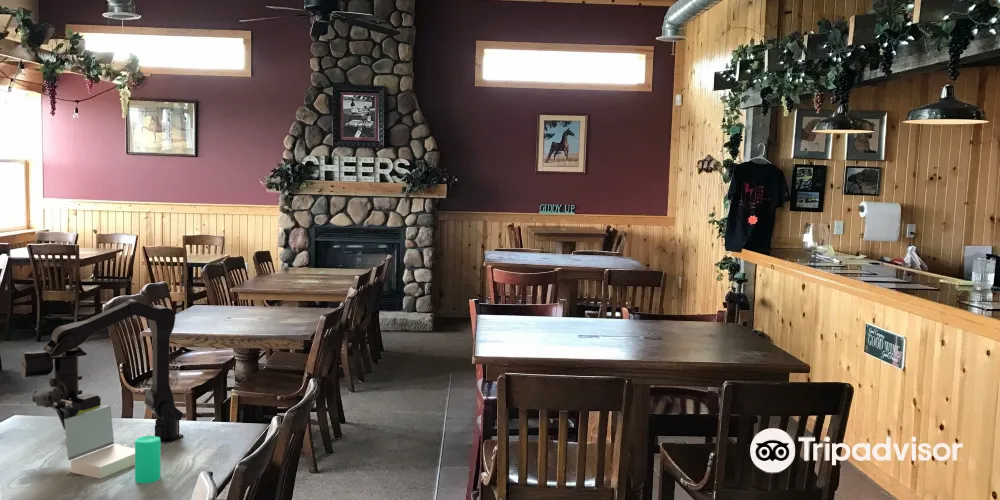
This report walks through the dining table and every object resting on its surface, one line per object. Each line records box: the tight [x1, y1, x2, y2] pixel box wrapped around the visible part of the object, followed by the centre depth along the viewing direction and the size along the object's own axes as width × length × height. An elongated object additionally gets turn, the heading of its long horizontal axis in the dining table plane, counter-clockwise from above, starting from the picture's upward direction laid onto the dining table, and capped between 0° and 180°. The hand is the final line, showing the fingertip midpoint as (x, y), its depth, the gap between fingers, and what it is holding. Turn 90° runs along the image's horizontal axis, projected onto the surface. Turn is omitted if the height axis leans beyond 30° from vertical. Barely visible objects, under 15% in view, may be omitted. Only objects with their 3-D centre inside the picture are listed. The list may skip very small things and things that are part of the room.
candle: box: [134, 434, 162, 484], centre depth 197 cm, size 6×6×12 cm
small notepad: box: [70, 444, 135, 479], centre depth 205 cm, size 14×10×3 cm
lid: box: [64, 405, 115, 461], centre depth 206 cm, size 14×11×1 cm
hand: (66, 429), depth 209 cm, fingers closed
